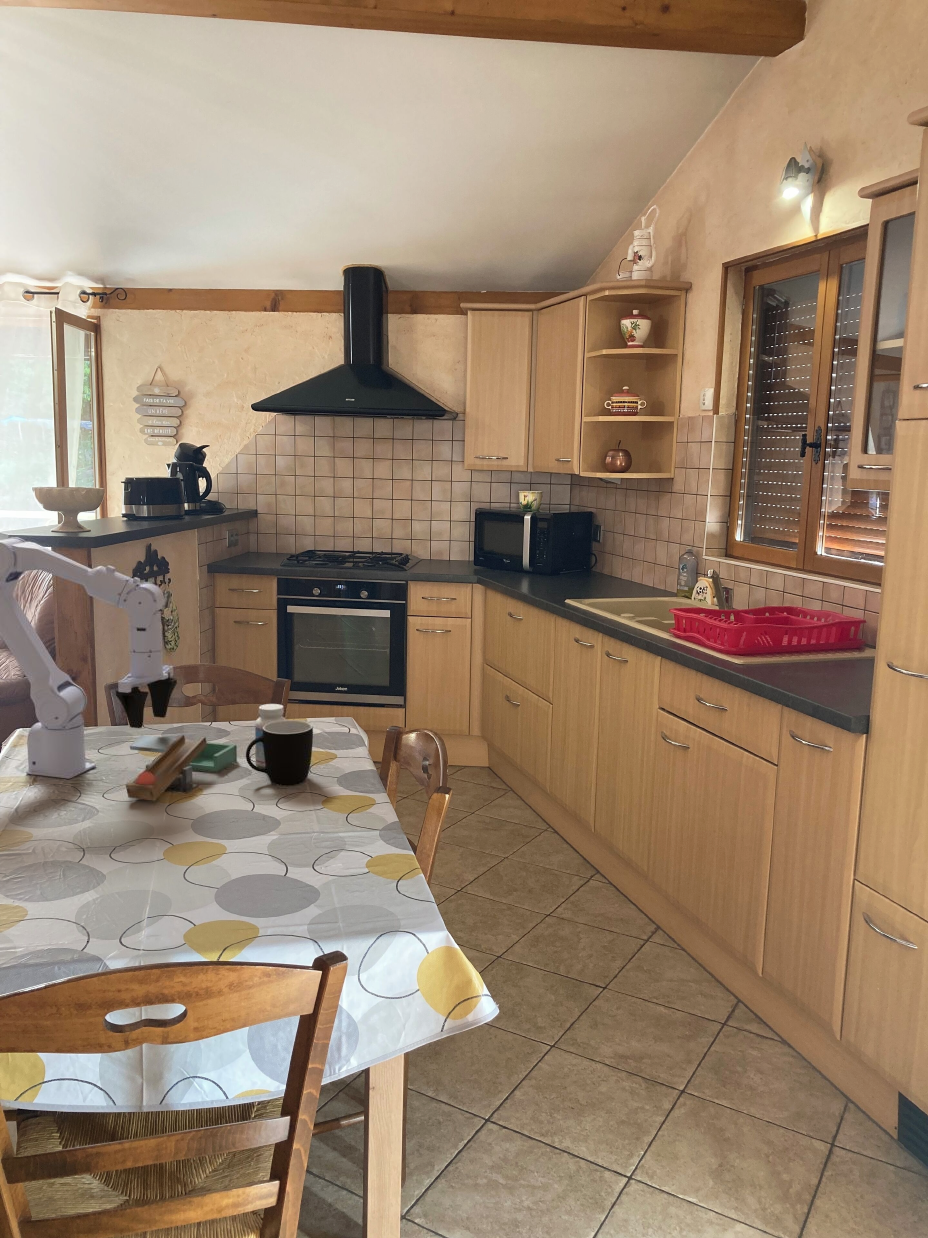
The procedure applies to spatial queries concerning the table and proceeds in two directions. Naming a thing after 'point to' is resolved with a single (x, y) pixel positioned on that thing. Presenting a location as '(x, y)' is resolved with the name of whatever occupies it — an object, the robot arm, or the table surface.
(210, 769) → the dish
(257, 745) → the pill bottle
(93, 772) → the table surface
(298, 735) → the mug
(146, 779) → the ball
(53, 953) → the table surface
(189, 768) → the stand
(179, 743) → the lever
